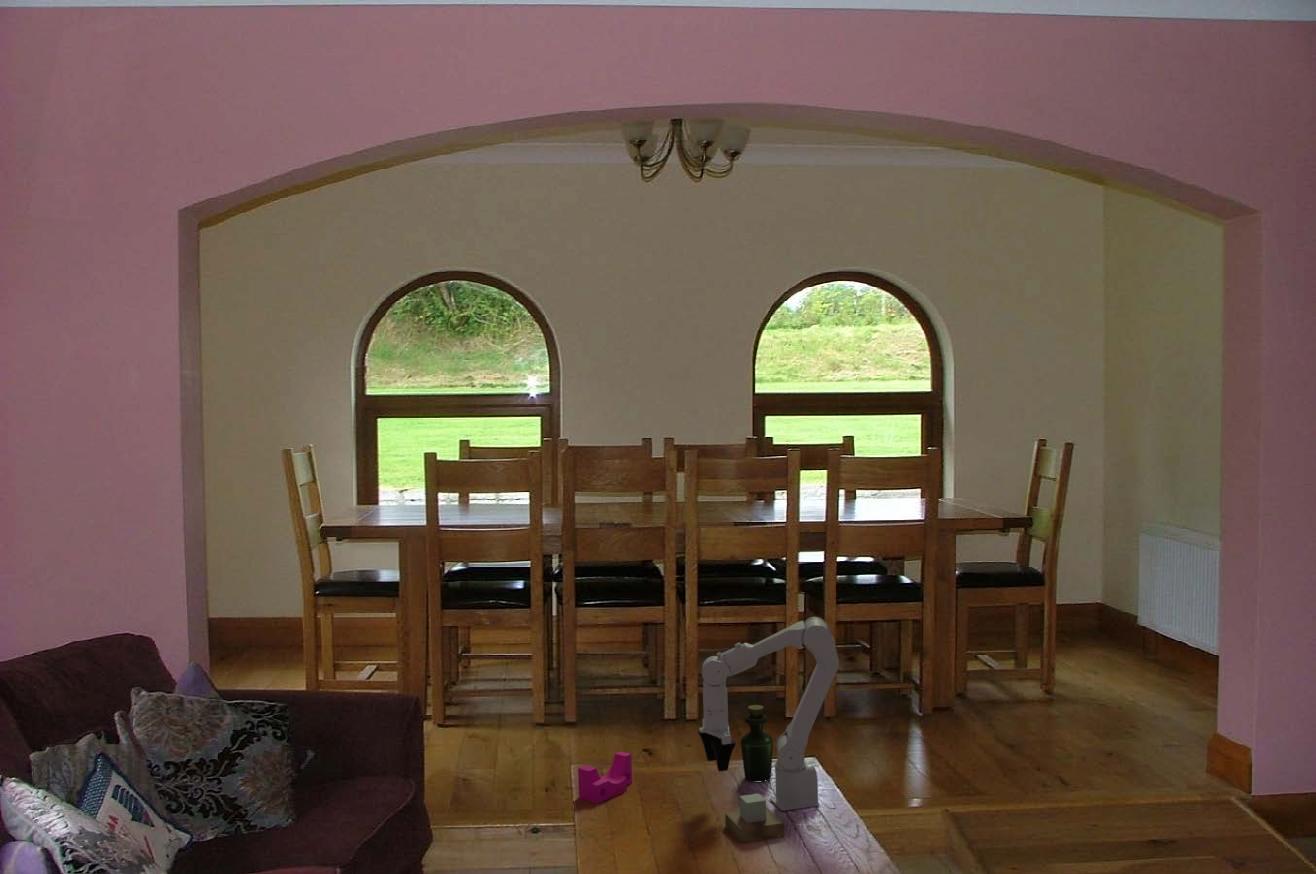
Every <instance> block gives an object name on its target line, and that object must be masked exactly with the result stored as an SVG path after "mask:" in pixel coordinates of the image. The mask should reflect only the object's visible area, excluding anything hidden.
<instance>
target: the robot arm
mask: <svg viewBox="0 0 1316 874" xmlns="http://www.w3.org/2000/svg"><path fill="white" fill-rule="evenodd" d="M803 644H804V645H805V647H806V648H807V649H808V650H809V652H810V653H811V654H812V655H813V657H814V658H815V661H816V665H815V667H814V668H813V672H812V673H811V676H810V678H809V681H808V683H807V685H806V688H805V690H804V692H803V694H802V696H801V699H800V701H799V704H798V706H797V708H796V711H795V712H794V715H793V718H792V719H791V722H790V723H789V724H788V725H787V727H786V729H785V731H784V732H783V733H782V734H780V735H779V737H778V739H777V740H776V743H775V747H776V749H775V750H776V752H777V755H776V759H777V761H776V762H775V763H774V772H775V773H774V775H775V796H774V797H772V796H771V797H769V800H770V801H771V802H772V803H773V804H774V805H775V806H776V807H777V808H779V810H780V811H782V812H787V811H793V809H794V810H800V809H805V808H812V807H818V806H820V802H819V787H818V786H819V784H818V782H819V780H818V774H817V770H816V768H815V766H814V765H813V764H812V763H806V762H805V750H806V747H807V745H808V743H809V742H808V741H809V735H810V732H811V731H812V729H813V726H814V723H815V721H816V719H817V717H818V714H819V713H820V710H821V708H822V705H823V704H824V701H825V699H826V697H827V693H828V692H829V690H830V687H831V685H832V683H833V680H834V677H835V676H836V673H837V671H838V669H839V667H840V666H839V665H840V662H839V657H838V651H837V647H836V642H835V638H834V637H833V633H832V631H831V629H830V626H829V625H828V624H827V622H826V621H825V620H824V619H823V618H822V617H819V616H818V617H817V616H812V617H809V618H807V619H806V620H805V621H804V620H800V621H798V622H795V623H794V624H792V625H791V624H790V626H787V627H785V628H784V629H782V630H779V631H778V632H776V633H774V634H771V635H769V636H768V637H765V638H764V639H762V640H759V641H758V642H756V643H753V644H750V643H748V642H744V643H741V642H737V643H735V644H734V647H733V648H730V649H728V650H726V651H724V652H720V651H719V652H717V653H716V655H711V656H709V657H706V659H704V661H703V664H702V667H701V676H702V679H703V681H702V686H703V688H702V701H703V702H702V704H703V705H702V706H703V708H702V709H703V718H702V720H701V721H702V727H699V730H698V731H697V734H698V735H699V736H700V737H699V738H700V739H701V741H702V744H703V747H704V752H705V753H704V754H705V756H706V760H707V762H711V761H713V762H714V761H716V766H717V767H716V768H717V770H718V772H724V771H725V772H726V771H728V769H729V765H730V760H731V757H732V753H733V750H734V749H735V747H736V743H737V742H736V740H733V739H732V736H731V734H730V726H729V704H728V701H729V700H728V687H727V685H726V684H727V682H726V681H727V678H728V677H733V676H736V675H737V674H740V673H742V672H744V671H746V670H748V669H750V668H752V667H756V665H757V663H758V660H759V659H761V658H762V657H764V656H767V655H769V654H772V653H774V652H777V651H780V650H781V649H784V648H786V647H789V646H790V647H794V648H799V649H803Z"/></svg>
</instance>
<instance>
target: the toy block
mask: <svg viewBox="0 0 1316 874" xmlns="http://www.w3.org/2000/svg"><path fill="white" fill-rule="evenodd" d="M632 767H633V766H632V753H629V752H628V753H627V752H625V751H617V752H615V753H614V757H613V762H612V764H611V766H610V768H609V770H608V772H607V773H605V774H604V775H603V776H600V774H599V772H598V768H597V767H596V766H590V765H586V764H585V765H582V766H579V767H578V768H577V777H578V778H577V779H578V780H577V781H578V797H579V799H583V800H585V801H588V802H589V801H590V802H592V803H595V804H600V803H601V802H604V801H606V800H608V799H611V798H614V797H616V796H618V795H620V794H623V793H625V792H627V791H628V785H631V784H632V783H633V771H632V770H633V768H632Z"/></svg>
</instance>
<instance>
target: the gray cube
mask: <svg viewBox="0 0 1316 874" xmlns="http://www.w3.org/2000/svg"><path fill="white" fill-rule="evenodd" d="M766 807H767V800H766V799H765V798H764V797H763V796H762V795H761V794H760V793H753V794H746V795H745V794H744V795H739V811H740V816H741V817H742V818H743V819H744V820H745V821H746V822H747V823H752V822H758V821H765V820H766Z"/></svg>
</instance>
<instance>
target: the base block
mask: <svg viewBox="0 0 1316 874" xmlns="http://www.w3.org/2000/svg"><path fill="white" fill-rule="evenodd" d="M724 815H725V816H724V818H725V819H724V820H725V821H724V822H725V827H726V828H727V830H728V831H729V832H730V833H731V834H732V835H733V836H734V837H735V838H736V840H738V841H739V843H740V844H743V843H749V842H758V841H761V840H762V841H763V840H769V838H770V839H775V838H774V837H776V838H779V837H778V836H783V837H784V836H785V823H784V822H783V820H781V819H780V818H779V817H778V816H777V815H776V814H775V813H774V812H773V811H772V810H770V809H769V807H767V806H766V820H765V821H758V822H752V823H747V822H746V821H745V820H744V819H743V818H742V817H741V816H740V810H739V811H731V812H725V813H724Z"/></svg>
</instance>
